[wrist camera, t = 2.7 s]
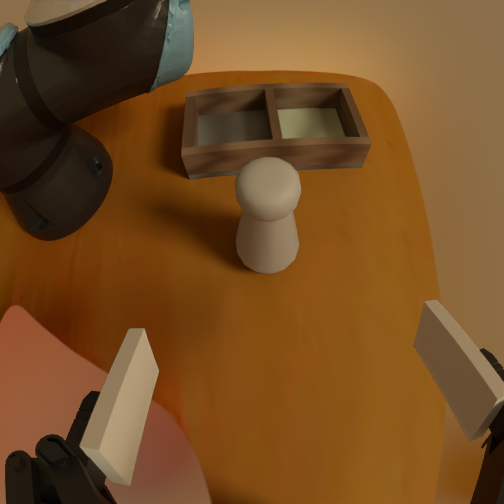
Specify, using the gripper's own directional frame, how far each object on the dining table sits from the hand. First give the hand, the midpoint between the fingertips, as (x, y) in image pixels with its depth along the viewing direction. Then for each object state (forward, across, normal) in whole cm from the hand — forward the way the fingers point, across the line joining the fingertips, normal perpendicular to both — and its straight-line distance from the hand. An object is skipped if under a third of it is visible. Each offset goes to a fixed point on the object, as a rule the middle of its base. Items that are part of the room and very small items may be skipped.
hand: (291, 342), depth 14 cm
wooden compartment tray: (+28, +2, +7) cm, 29 cm away
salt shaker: (+18, 0, -4) cm, 18 cm away
